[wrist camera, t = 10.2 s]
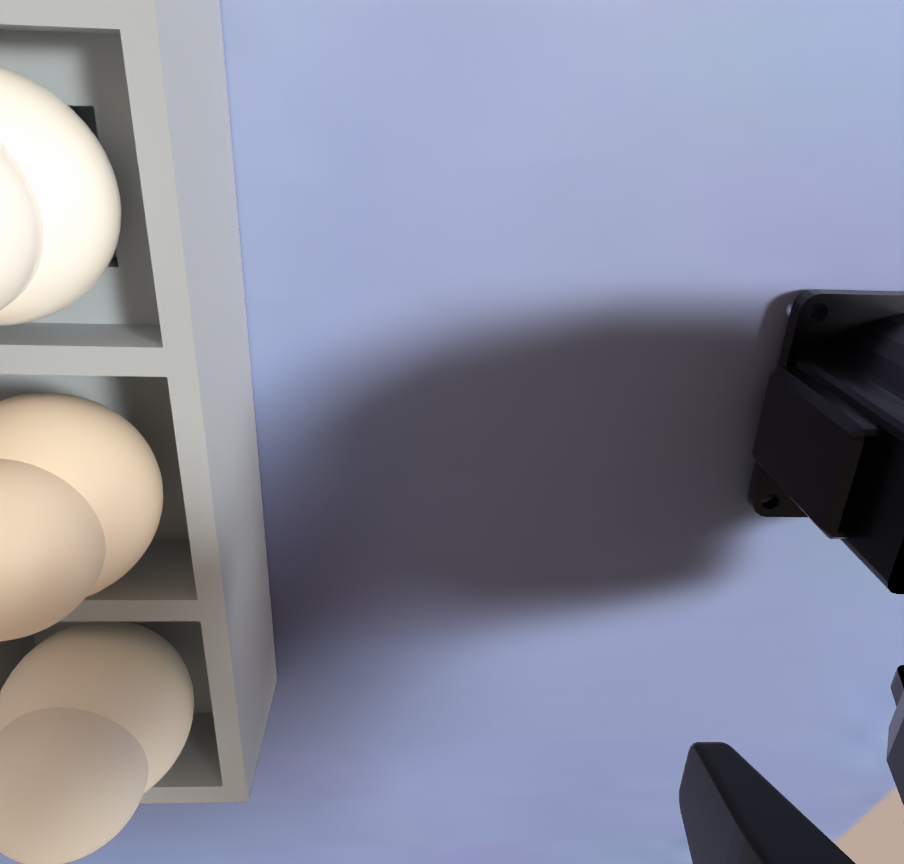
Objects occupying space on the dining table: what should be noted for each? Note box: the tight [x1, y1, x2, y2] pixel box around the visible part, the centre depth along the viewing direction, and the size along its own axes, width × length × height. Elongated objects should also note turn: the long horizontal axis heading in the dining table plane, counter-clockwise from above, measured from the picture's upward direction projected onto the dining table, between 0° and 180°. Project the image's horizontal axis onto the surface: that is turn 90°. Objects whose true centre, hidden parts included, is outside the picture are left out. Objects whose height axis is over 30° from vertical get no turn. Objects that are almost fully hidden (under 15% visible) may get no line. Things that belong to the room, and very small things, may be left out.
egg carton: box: [0, 0, 277, 864], centre depth 14 cm, size 7×25×8 cm, turn 178°
